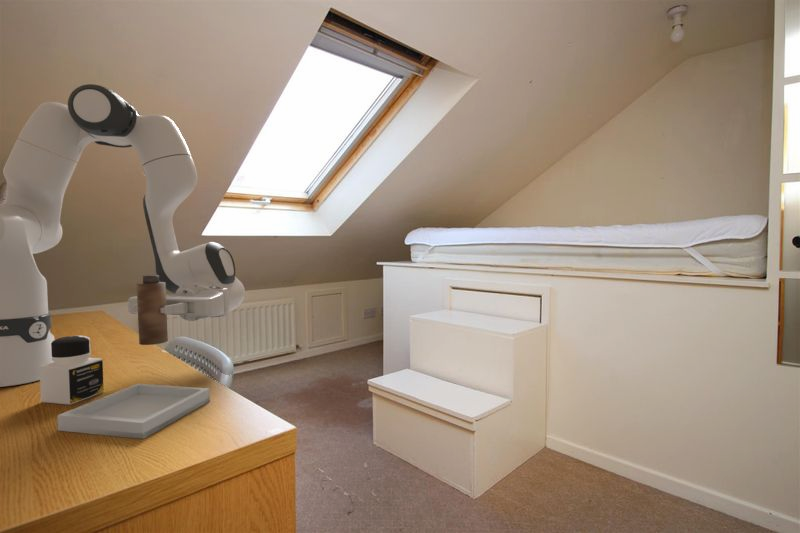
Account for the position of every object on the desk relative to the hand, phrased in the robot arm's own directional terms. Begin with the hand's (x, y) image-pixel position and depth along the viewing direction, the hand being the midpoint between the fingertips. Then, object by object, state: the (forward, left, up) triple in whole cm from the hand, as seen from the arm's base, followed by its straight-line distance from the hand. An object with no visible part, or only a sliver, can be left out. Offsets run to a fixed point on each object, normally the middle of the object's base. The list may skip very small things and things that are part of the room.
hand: (149, 310), depth 84 cm
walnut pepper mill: (0, +1, -7) cm, 7 cm away
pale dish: (+6, -10, -17) cm, 20 cm away
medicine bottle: (-14, -5, -17) cm, 23 cm away
